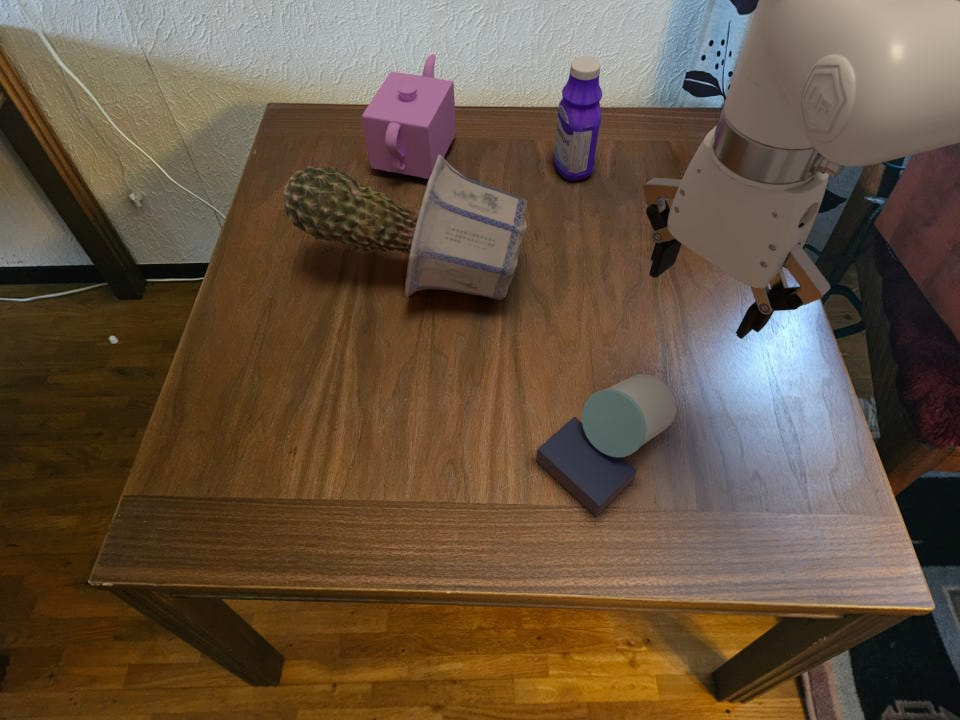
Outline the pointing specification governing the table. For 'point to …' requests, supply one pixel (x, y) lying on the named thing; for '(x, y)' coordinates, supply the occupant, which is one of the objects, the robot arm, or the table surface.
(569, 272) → the table surface
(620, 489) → the dark rectangular block
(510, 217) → the potted plant
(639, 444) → the beige cylinder teal cap
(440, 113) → the teapot
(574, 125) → the bottle
